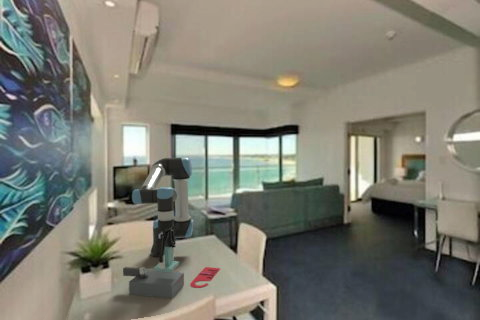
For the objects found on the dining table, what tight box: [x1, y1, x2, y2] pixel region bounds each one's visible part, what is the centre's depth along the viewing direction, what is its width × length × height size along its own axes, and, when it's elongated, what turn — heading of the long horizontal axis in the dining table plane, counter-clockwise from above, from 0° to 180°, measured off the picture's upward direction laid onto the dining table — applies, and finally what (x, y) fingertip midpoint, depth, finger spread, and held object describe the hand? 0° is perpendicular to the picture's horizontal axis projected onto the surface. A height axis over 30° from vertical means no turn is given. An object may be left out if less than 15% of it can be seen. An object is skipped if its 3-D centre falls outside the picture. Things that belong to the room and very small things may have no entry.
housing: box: [128, 269, 185, 299], centre depth 138 cm, size 14×22×6 cm, turn 79°
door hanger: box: [190, 266, 221, 289], centre depth 151 cm, size 9×1×25 cm
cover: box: [153, 247, 180, 272], centre depth 138 cm, size 9×9×10 cm
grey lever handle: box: [122, 266, 147, 278], centre depth 139 cm, size 12×3×4 cm, turn 81°
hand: (166, 264), depth 138 cm, fingers closed on cover, 9 cm apart
